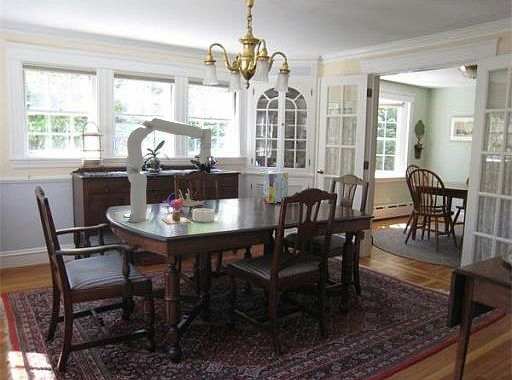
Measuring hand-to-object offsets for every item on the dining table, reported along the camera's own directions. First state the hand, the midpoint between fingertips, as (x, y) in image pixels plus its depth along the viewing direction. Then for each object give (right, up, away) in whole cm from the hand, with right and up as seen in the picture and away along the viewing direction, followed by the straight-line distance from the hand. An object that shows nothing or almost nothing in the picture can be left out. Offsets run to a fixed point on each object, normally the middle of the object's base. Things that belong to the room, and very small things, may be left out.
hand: (205, 171), depth 290 cm
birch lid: (-16, -32, -18) cm, 40 cm away
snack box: (+51, -23, +78) cm, 96 cm away
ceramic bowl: (0, -32, -10) cm, 34 cm away
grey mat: (-16, -33, -18) cm, 41 cm away
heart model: (-24, -29, +17) cm, 41 cm away
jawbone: (-15, -26, +44) cm, 53 cm away
